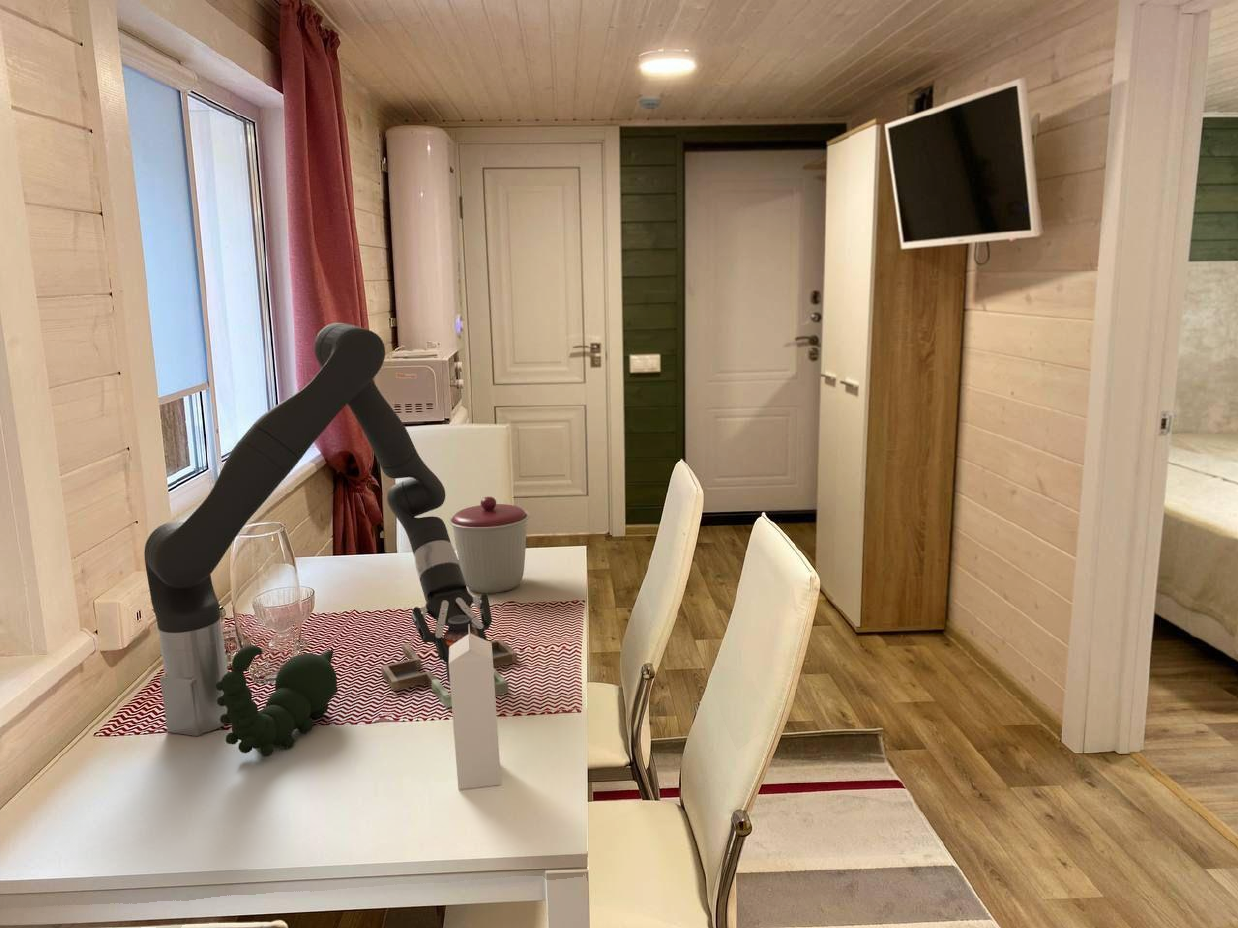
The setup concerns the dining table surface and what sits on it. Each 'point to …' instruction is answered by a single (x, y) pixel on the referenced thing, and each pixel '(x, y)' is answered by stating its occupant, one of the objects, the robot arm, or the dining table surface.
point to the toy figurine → (276, 700)
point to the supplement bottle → (457, 632)
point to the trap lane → (409, 676)
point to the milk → (474, 712)
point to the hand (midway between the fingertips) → (465, 655)
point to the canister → (491, 545)
